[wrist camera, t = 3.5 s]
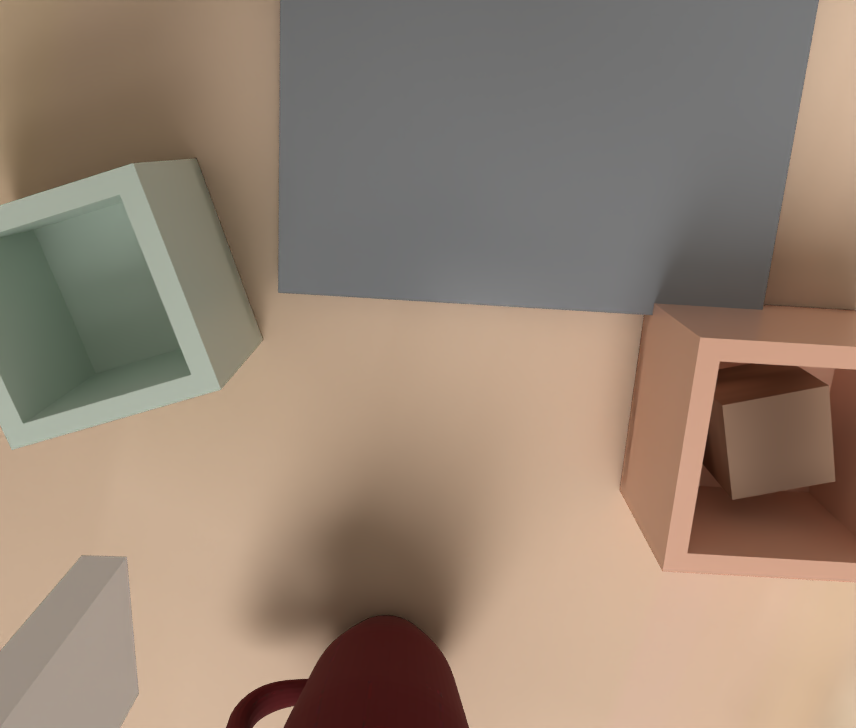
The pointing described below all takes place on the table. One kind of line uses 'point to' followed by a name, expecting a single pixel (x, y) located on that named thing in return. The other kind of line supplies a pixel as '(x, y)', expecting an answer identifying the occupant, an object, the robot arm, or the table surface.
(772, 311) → the tan open box
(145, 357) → the sage open box
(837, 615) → the table surface
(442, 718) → the mug
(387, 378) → the table surface
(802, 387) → the tan cube
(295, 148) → the slate board
